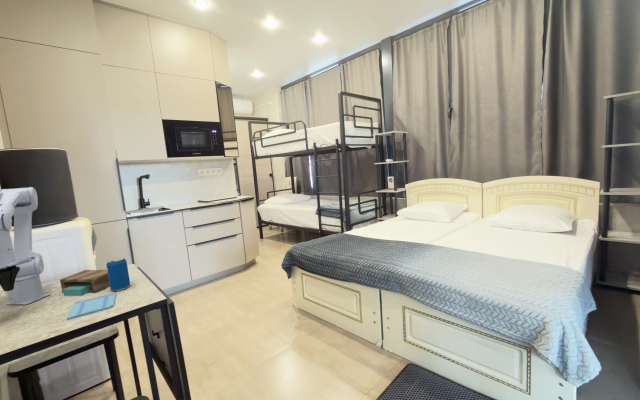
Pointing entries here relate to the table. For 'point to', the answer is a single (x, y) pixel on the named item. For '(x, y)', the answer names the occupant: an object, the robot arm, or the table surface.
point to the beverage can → (118, 273)
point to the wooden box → (88, 279)
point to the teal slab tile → (78, 289)
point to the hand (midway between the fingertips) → (8, 290)
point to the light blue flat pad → (92, 305)
